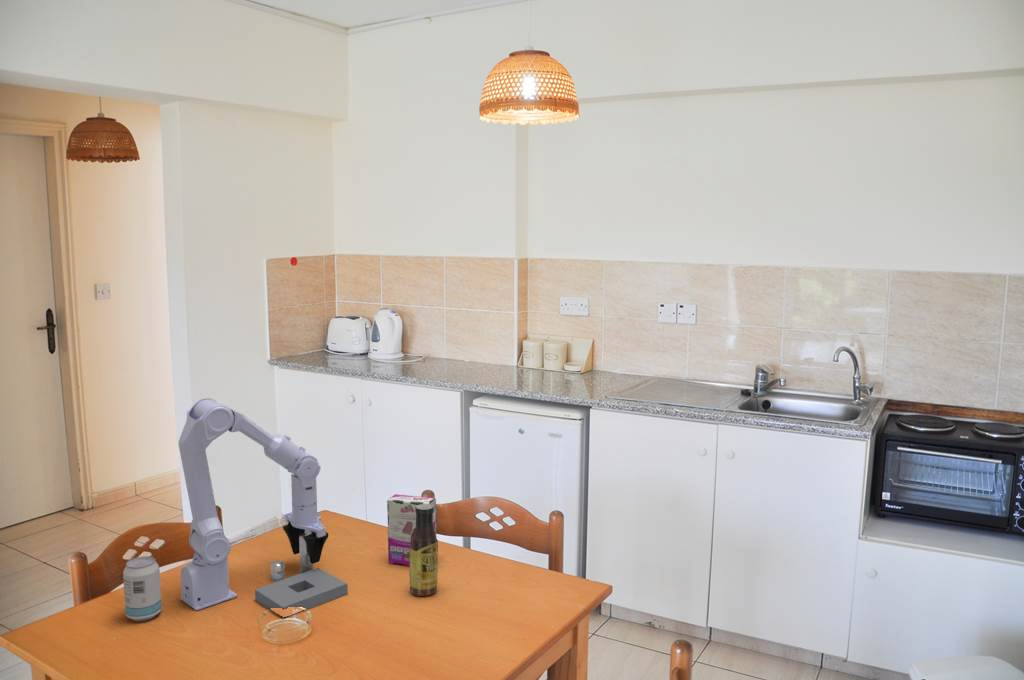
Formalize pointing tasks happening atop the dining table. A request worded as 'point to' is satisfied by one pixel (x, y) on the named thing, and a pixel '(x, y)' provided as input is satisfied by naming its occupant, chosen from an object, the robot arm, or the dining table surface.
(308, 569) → the tall pin
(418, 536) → the sauce bottle
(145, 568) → the beverage can
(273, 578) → the short pin
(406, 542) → the candy bar box
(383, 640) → the dining table surface
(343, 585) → the hole board
